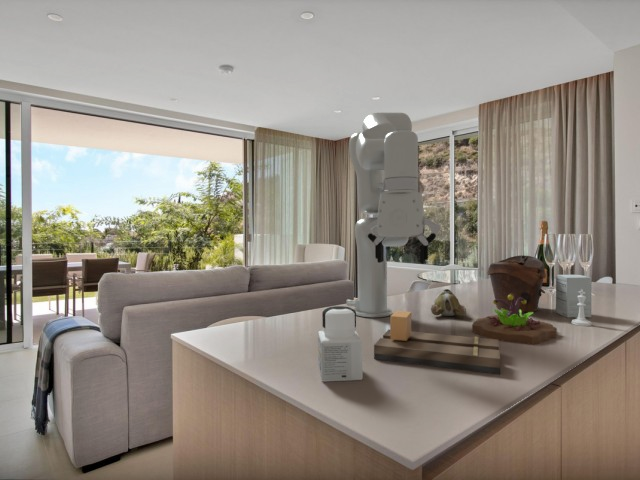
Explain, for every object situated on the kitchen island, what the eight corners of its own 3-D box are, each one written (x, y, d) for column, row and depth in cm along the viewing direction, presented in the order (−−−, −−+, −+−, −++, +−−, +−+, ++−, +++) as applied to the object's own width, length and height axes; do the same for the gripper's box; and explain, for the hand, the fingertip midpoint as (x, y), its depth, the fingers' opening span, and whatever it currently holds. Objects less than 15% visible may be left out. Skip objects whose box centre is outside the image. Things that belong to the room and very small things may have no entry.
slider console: (374, 358, 86) (374, 344, 86) (388, 341, 99) (388, 328, 99) (500, 374, 77) (500, 357, 76) (498, 352, 89) (498, 338, 89)
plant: (460, 334, 106) (460, 292, 106) (487, 321, 120) (487, 284, 120) (544, 349, 92) (544, 302, 92) (563, 332, 107) (563, 291, 106)
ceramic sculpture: (461, 284, 134) (468, 295, 119) (461, 310, 134) (468, 323, 120) (428, 284, 136) (431, 294, 121) (429, 309, 137) (431, 322, 122)
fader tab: (390, 348, 89) (390, 316, 89) (396, 341, 94) (395, 310, 94) (406, 350, 87) (406, 317, 87) (411, 342, 93) (411, 311, 93)
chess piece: (585, 326, 111) (585, 291, 111) (567, 323, 116) (567, 289, 115) (595, 324, 114) (595, 290, 113) (577, 321, 118) (577, 287, 118)
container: (318, 367, 81) (317, 304, 81) (355, 366, 82) (355, 303, 81) (321, 382, 73) (321, 312, 73) (362, 380, 74) (362, 311, 74)
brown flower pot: (496, 314, 127) (496, 259, 127) (481, 302, 147) (481, 254, 146) (556, 316, 124) (557, 259, 124) (533, 304, 144) (533, 254, 143)
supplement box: (578, 312, 129) (579, 274, 129) (592, 318, 122) (592, 277, 121) (554, 312, 130) (555, 274, 129) (566, 317, 122) (567, 277, 122)
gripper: (359, 187, 90) (360, 263, 90) (438, 183, 83) (439, 265, 83) (368, 190, 97) (368, 260, 97) (442, 187, 90) (442, 262, 90)
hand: (401, 262), depth 90 cm, fingers open, 9 cm apart
